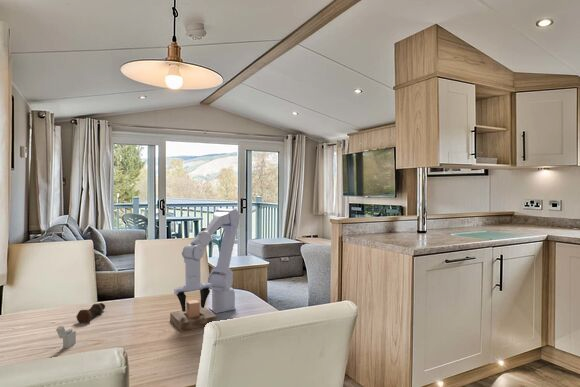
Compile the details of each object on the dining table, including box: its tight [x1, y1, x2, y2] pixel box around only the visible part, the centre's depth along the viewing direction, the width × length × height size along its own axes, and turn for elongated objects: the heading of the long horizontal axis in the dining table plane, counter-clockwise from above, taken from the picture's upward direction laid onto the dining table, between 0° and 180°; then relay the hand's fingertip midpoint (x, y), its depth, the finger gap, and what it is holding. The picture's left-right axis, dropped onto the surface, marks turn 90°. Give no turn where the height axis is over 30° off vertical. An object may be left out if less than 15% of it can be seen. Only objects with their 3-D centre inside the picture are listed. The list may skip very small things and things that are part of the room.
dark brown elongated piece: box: [75, 302, 106, 324], centre depth 153 cm, size 6×5×15 cm
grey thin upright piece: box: [55, 325, 77, 349], centre depth 123 cm, size 7×2×8 cm, turn 173°
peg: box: [185, 299, 201, 318], centre depth 147 cm, size 4×4×8 cm
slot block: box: [169, 306, 218, 332], centre depth 146 cm, size 14×14×3 cm
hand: (193, 309), depth 146 cm, fingers open, 7 cm apart
